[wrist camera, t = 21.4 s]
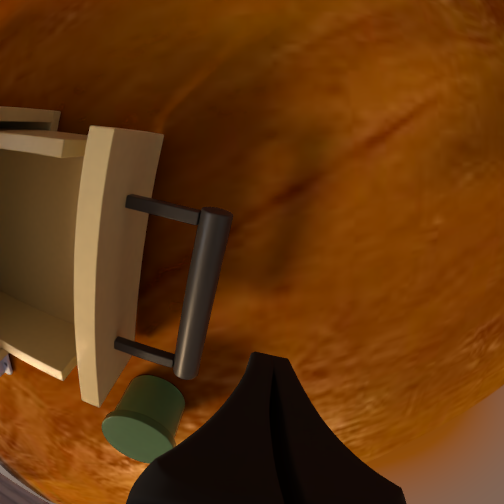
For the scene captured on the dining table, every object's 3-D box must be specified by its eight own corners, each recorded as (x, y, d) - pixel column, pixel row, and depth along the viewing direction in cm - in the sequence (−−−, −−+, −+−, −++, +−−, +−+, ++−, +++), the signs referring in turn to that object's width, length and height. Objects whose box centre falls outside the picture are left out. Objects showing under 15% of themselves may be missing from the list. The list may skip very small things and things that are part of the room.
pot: (185, 426, 23) (171, 471, 19) (125, 407, 23) (104, 448, 19) (193, 384, 22) (177, 432, 17) (125, 362, 22) (98, 405, 17)
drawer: (253, 153, 16) (243, 152, 10) (201, 373, 20) (182, 436, 15) (3, 116, 16) (-56, 117, 10) (-2, 295, 20) (-46, 325, 14)
